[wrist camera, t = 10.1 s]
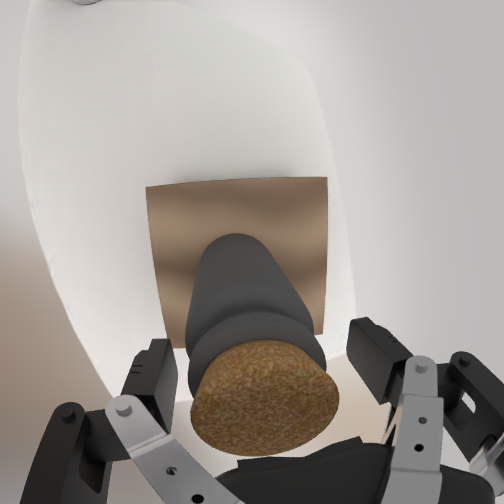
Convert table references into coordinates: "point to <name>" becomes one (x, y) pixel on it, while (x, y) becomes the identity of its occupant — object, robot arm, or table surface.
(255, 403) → the bottle
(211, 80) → the table surface
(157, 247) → the wooden bench
